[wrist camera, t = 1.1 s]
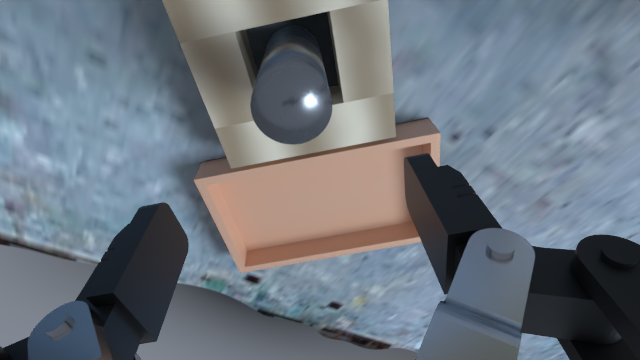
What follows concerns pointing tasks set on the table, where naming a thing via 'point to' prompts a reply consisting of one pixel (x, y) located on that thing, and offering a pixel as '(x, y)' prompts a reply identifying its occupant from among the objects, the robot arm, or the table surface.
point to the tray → (317, 200)
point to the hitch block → (241, 73)
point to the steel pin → (291, 88)
